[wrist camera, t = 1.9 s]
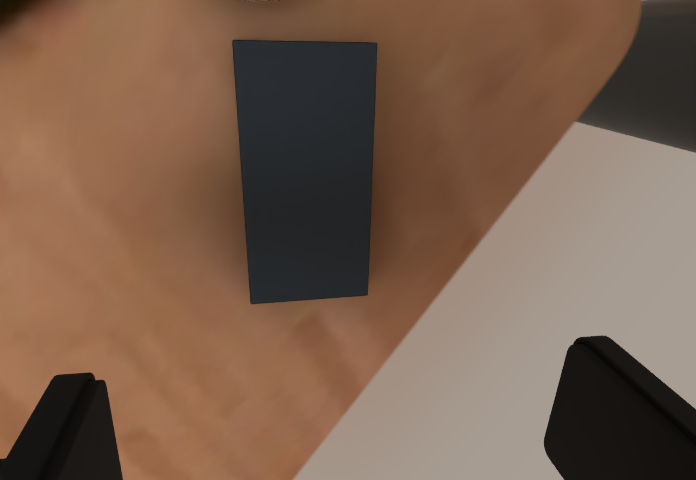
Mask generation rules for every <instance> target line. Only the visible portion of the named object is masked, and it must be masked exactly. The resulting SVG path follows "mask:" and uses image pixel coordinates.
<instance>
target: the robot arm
mask: <svg viewBox="0 0 696 480" xmlns="http://www.w3.org/2000/svg"><path fill="white" fill-rule="evenodd" d="M544 447H545V451H546V453H547V455H548V457H549V459H550V460H551V462H552V463H553V464H554V466H555V467H556V469H557V470H558V472H559V473H560V474H561V476H562V477H563V478H564V480H696V409H695V408H693V407H692V406H691V405H690V404H689V403H687V402H686V401H685V400H684V399H683V398H681V397H680V396H679V395H678V394H677V393H675V392H674V391H673V390H672V389H671V388H669V387H668V386H667V385H666V384H665V383H663V382H662V381H661V380H660V379H659V378H657V377H656V376H655V375H654V374H653V373H651V372H650V371H649V370H648V369H647V368H645V367H644V366H643V365H642V364H641V363H639V362H638V361H637V360H636V359H635V358H633V357H632V356H631V355H630V354H629V353H627V352H626V351H625V350H624V349H623V348H621V347H620V346H619V345H618V344H616V343H615V342H614V341H613V340H612V339H610V338H609V337H607V336H591V337H580V338H577V339H576V341H575V342H574V344H573V345H571V346H570V347H569V349H568V351H567V355H566V358H565V362H564V366H563V369H562V373H561V377H560V381H559V385H558V388H557V392H556V396H555V400H554V404H553V407H552V411H551V415H550V418H549V422H548V426H547V430H546V434H545V437H544ZM0 480H123V478H122V472H121V466H120V461H119V455H118V449H117V444H116V438H115V432H114V426H113V421H112V415H111V409H110V404H109V398H108V392H107V387H106V383H105V381H104V380H95V377H94V375H93V373H77V374H63V375H56V376H54V378H53V379H52V380H51V382H50V384H49V385H48V387H47V389H46V391H45V392H44V394H43V396H42V397H41V399H40V401H39V403H38V404H37V406H36V408H35V409H34V411H33V413H32V415H31V416H30V418H29V420H28V421H27V423H26V425H25V427H24V428H23V430H22V432H21V434H20V435H19V437H18V439H17V440H16V442H15V444H14V446H13V447H12V449H11V451H10V452H9V454H8V456H7V458H6V459H0Z"/></svg>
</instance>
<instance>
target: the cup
mask: <svg viewBox="0 0 696 480" xmlns="http://www.w3.org/2000/svg"><path fill="white" fill-rule="evenodd" d="M241 1H251V2H276V1H279V0H241Z"/></svg>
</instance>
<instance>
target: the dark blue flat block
mask: <svg viewBox="0 0 696 480" xmlns="http://www.w3.org/2000/svg"><path fill="white" fill-rule="evenodd" d="M232 43H233V57H234V72H235V86H236V100H237V115H238V129H239V144H240V158H241V172H242V187H243V201H244V215H245V230H246V244H247V259H248V273H249V287H250V302H251V304H261V303H274V302H287V301H300V300H313V299H326V298H340V297H353V296H366V295H368V276H369V250H370V223H371V197H372V170H373V144H374V118H375V91H376V65H377V43H368V42H314V41H258V40H233V42H232Z"/></svg>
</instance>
